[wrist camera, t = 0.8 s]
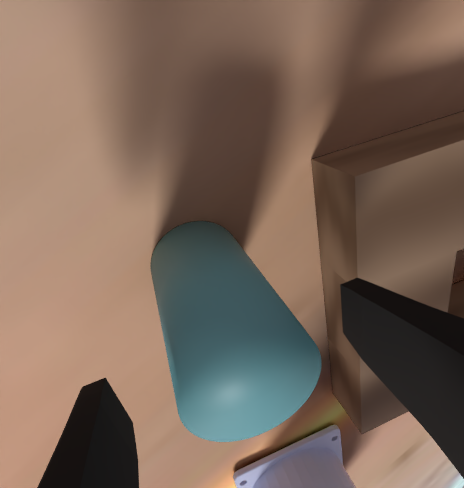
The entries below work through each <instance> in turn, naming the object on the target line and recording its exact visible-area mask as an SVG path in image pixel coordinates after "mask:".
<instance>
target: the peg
mask: <svg viewBox="0 0 464 488" xmlns="http://www.w3.org/2000/svg"><path fill="white" fill-rule="evenodd" d="M151 274H152V279H153V284H154V290H155V295H156V300H157V305H158V310H159V315H160V321H161V326H162V331H163V336H164V341H165V346H166V352H167V357H168V362H169V367H170V372H171V377H172V383H173V388H174V393H175V398H176V403H177V408H178V414H179V417H180V419H181V421H182V423H183V425H184V426H185V427H186V428H187V429H188V430H189V431H190V432H191V433H193V434H194V435H196V436H198V437H200V438H203V439H206V440H210V441H216V442H231V441H238V440H243V439H248V438H251V437H254V436H257V435H260V434H262V433H264V432H267V431H269V430H270V429H272V428H274V427H276V426H278V425H279V424H281V423H282V422H284V421H285V420H287V419H288V418H289V417H290V416H292V415H293V414H294V413H295V412H296V411H297V410H298V409H299V408H300V407H301V406H302V405H303V404H304V403H305V402H306V400H307V399H308V398H309V396H310V395H311V393H312V392H313V390H314V388H315V386H316V384H317V382H318V379H319V376H320V372H321V356H320V352H319V349H318V347H317V345H316V344H315V342H314V341H313V340H312V338H311V337H310V336H309V334H308V333H307V332H306V331H305V329H304V328H303V327H302V325H301V324H300V323H299V321H298V320H297V319H296V318H295V316H294V315H293V314H292V312H291V311H290V310H289V308H288V307H287V306H286V305H285V303H284V302H283V301H282V299H281V298H280V297H279V295H278V294H277V293H276V292H275V290H274V289H273V288H272V286H271V285H270V284H269V282H268V281H267V280H266V279H265V277H264V276H263V275H262V273H261V272H260V271H259V269H258V268H257V267H256V266H255V264H254V263H253V262H252V260H251V259H250V258H249V256H248V255H247V254H246V253H245V251H244V250H243V249H242V247H241V246H240V245H239V243H238V242H237V241H236V240H235V238H234V237H233V236H232V234H231V233H230V232H229V231H228V230H226V229H225V228H223V227H222V226H220V225H218V224H215V223H212V222H206V221H194V222H189V223H185V224H182V225H180V226H177V227H176V228H174V229H172V230H171V231H169V232H168V233H167V234H166V235H165V236H164V237H163V238H162V239H161V240H160V241H159V242H158V244H157V246H156V247H155V249H154V251H153V254H152V258H151Z"/></svg>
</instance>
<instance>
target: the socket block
mask: <svg viewBox="0 0 464 488" xmlns="http://www.w3.org/2000/svg"><path fill="white" fill-rule="evenodd" d="M311 161H312V171H313V182H314V193H315V204H316V215H317V226H318V236H319V247H320V258H321V269H322V280H323V291H324V301H325V312H326V323H327V334H328V345H329V356H330V367H331V377H332V388H333V394H334V395H335V397H336V398H337V400H338V401H339V403H340V404H341V405H342V407H343V408H344V410H345V411H346V413H347V414H348V415H349V417H350V418H351V420H352V421H353V422H354V424H355V425H356V427H357V428H358V430H359V431H360V432H361V434H364V433H366V432H368V431H370V430H372V429H374V428H376V427H378V426H380V425H382V424H384V423H386V422H388V421H390V420H392V419H394V418H396V417H398V416H400V415H402V414H404V413H406V412H408V410H407V408H406V407H405V406H404V405H403V404H402V403H401V402H400V401H399V400H398V399H397V398H396V397H395V395H394V394H393V393H392V392H391V391H390V390H389V389H388V388H387V387H386V386H385V385H384V383H383V382H382V381H381V380H380V379H379V378H378V377H377V376H376V375H375V374H374V372H373V371H372V370H371V369H370V368H369V367H368V366H367V365H366V364H365V362H364V361H363V360H362V359H361V357H360V356H359V355H358V353H357V352H356V351H355V349H354V348H353V346H352V345H351V344H350V342H349V341H348V339H347V338H346V336H345V335H344V333H343V327H342V309H341V291H340V284H343V283H345V282H348V281H350V280H353V279H355V278H360V279H363V280H365V281H368V282H371V283H373V284H376V285H378V286H380V287H383V288H385V289H388V290H390V291H393V292H395V293H398V294H400V295H403V296H405V297H408V298H410V299H413V300H415V301H418V302H420V303H423V304H426V305H428V306H431V307H433V308H436V309H439V310H442V311H444V312H447V313H450V314H453V315H455V316H458V317H461V318H464V280H463V281H460V282H458V283H456V284H453V285H452V280H453V273H454V266H455V259H456V253H457V251H459V250H462V249H464V111H462V112H459V113H456V114H453V115H450V116H447V117H444V118H440V119H437V120H434V121H431V122H428V123H425V124H422V125H418V126H415V127H412V128H409V129H406V130H403V131H399V132H396V133H393V134H390V135H387V136H384V137H381V138H377V139H374V140H371V141H368V142H365V143H362V144H358V145H355V146H352V147H349V148H346V149H343V150H340V151H336V152H333V153H330V154H327V155H324V156H321V157H317V158H314V159H311Z"/></svg>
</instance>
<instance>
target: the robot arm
mask: <svg viewBox="0 0 464 488" xmlns="http://www.w3.org/2000/svg"><path fill="white" fill-rule="evenodd" d="M340 291H341V309H342V327H343V333H344V335H345V336H346V338H347V339H348V341H349V342H350V344H351V345H352V346H353V348H354V349H355V351H356V352H357V353H358V355H359V356H360V357H361V359H362V360H363V361H364V362H365V364H366V365H367V366H368V367H369V368H370V369H371V370H372V371H373V372H374V374H375V375H376V376H377V377H378V378H379V379H380V380H381V381H382V382H383V383H384V385H385V386H386V387H387V388H388V389H389V390H390V391H391V392H392V393H393V394H394V395H395V397H396V398H397V399H398V400H399V401H400V402H401V403H402V404H403V405H404V406H405V407H406V408H407V410H408V411H409V412H410V413H411V414H412V415H413V416H414V417H415V418H416V419H417V420H418V422H419V423H420V424H421V425H422V426H423V427H424V429H425V430H426V431H427V432H428V433H429V434H430V436H431V437H432V438H433V439H434V440H435V442H436V443H437V444H438V446H439V447H440V448H441V450H442V451H443V452H444V453H445V455H446V456H447V457H448V459H449V460H450V461H451V462H452V464H453V465H454V466H455V468H456V469H457V470H458V472H459V473H460V474H461V476H462V477H463V478H464V318H461V317H458V316H455V315H453V314H450V313H447V312H444V311H442V310H439V309H436V308H433V307H431V306H428V305H426V304H423V303H420V302H418V301H415V300H413V299H410V298H408V297H405V296H403V295H400V294H398V293H395V292H393V291H390V290H388V289H385V288H383V287H380V286H378V285H376V284H373V283H371V282H368V281H365V280H363V279H360V278H355V279H353V280H350V281H348V282H345V283H343V284H340ZM233 478H234V481H235V484H236V486H237V488H356V487H355V485H354V483H353V482H352V480H351V478H350V477H349V475H348V473H347V472H346V470H345V468H344V467H343V458H342V446H341V434H340V429H339V428H338V426H337V425H331V426H329V427H327V428H325V429H323V430H321V431H319V432H316V433H314V434H312V435H310V436H308V437H306V438H304V439H302V440H300V441H298V442H296V443H293V444H291V445H289V446H287V447H285V448H283V449H281V450H279V451H277V452H275V453H273V454H270V455H268V456H266V457H264V458H262V459H260V460H258V461H256V462H254V463H252V464H250V465H247V466H245V467H243V468H241V469H239V470H237V471H236V472H235V473H234V475H233ZM37 488H139V475H138V457H137V449H136V442H135V435H134V428H133V422H132V420H131V419H130V417H129V415H128V414H127V412H126V411H125V409H124V407H123V406H122V404H121V402H120V401H119V399H118V397H117V396H116V394H115V393H114V391H113V389H112V388H111V386H110V384H109V383H108V381H107V379H106V378H103V379H101V380H98V381H96V382H93V383H91V384H88V385H86V386H83V387H82V389H81V391H80V393H79V395H78V397H77V400H76V402H75V405H74V407H73V409H72V412H71V414H70V416H69V419H68V421H67V423H66V426H65V428H64V430H63V433H62V435H61V437H60V439H59V442H58V444H57V446H56V448H55V451H54V453H53V455H52V457H51V459H50V462H49V464H48V466H47V468H46V470H45V472H44V475H43V477H42V479H41V481H40V483H39V485H38V487H37Z"/></svg>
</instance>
